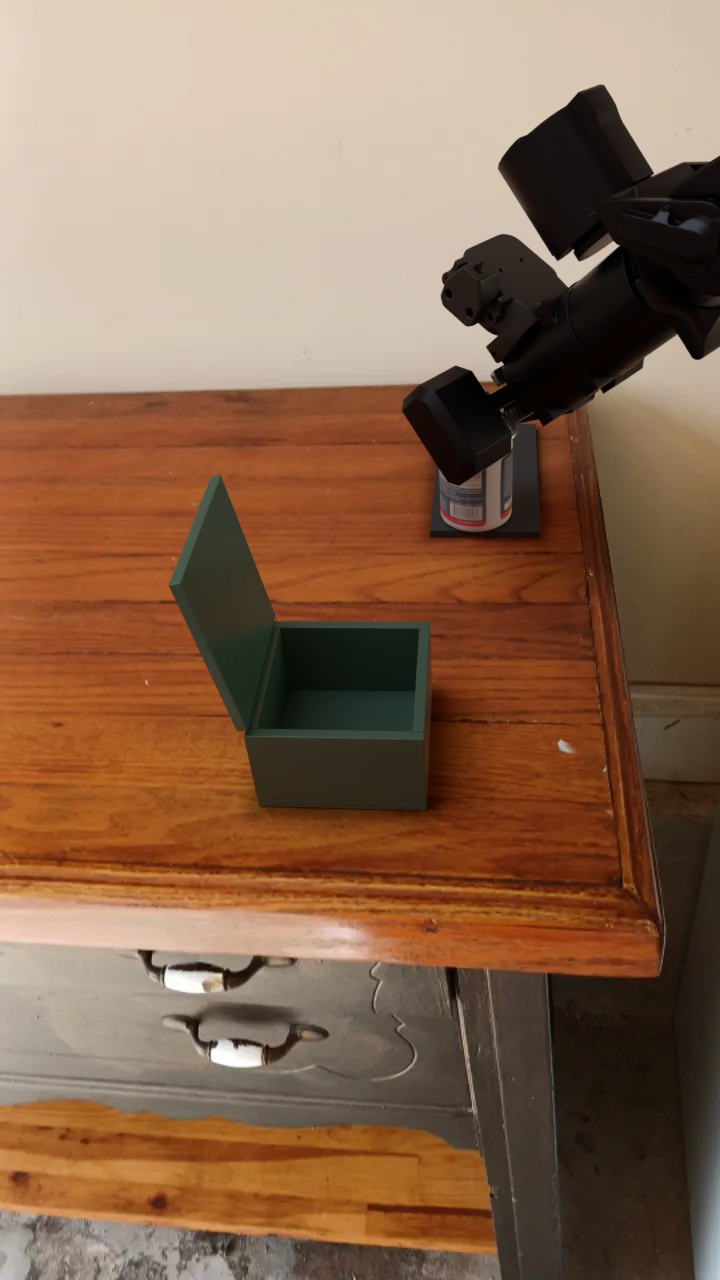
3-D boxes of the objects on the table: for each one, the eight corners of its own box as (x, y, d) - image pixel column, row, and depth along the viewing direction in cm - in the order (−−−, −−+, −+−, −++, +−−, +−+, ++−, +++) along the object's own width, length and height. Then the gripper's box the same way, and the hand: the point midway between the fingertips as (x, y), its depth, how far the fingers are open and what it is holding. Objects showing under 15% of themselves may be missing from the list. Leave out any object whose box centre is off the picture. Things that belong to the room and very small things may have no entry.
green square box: (432, 691, 58) (430, 621, 55) (426, 811, 51) (423, 739, 48) (283, 689, 59) (271, 620, 56) (258, 806, 52) (243, 736, 49)
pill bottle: (488, 488, 74) (489, 381, 68) (524, 520, 70) (529, 410, 64) (427, 508, 72) (423, 400, 67) (461, 541, 69) (460, 430, 63)
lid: (220, 474, 49) (210, 476, 49) (179, 583, 42) (167, 585, 43) (275, 615, 55) (266, 616, 55) (247, 731, 48) (236, 732, 49)
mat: (539, 538, 70) (540, 531, 69) (429, 537, 71) (429, 530, 70) (535, 429, 81) (535, 423, 81) (441, 430, 83) (440, 424, 82)
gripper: (624, 161, 59) (483, 298, 72) (420, 250, 50) (302, 389, 63) (720, 315, 60) (562, 423, 73) (535, 431, 50) (394, 531, 64)
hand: (461, 437), depth 68 cm, fingers closed on pill bottle, 5 cm apart
